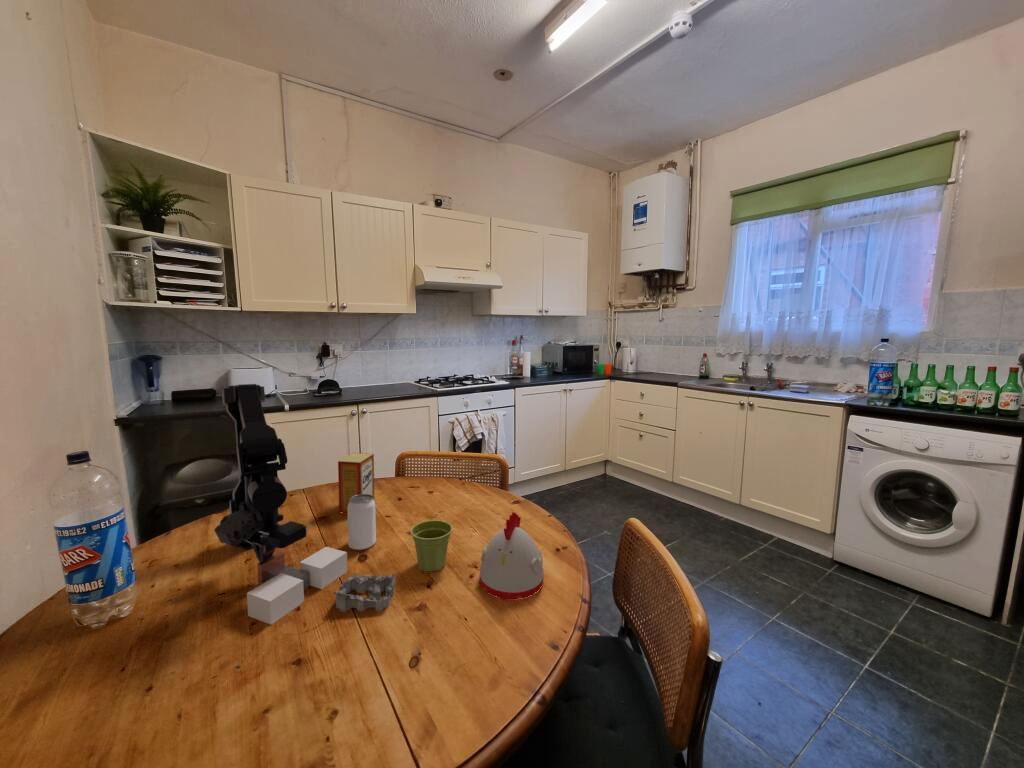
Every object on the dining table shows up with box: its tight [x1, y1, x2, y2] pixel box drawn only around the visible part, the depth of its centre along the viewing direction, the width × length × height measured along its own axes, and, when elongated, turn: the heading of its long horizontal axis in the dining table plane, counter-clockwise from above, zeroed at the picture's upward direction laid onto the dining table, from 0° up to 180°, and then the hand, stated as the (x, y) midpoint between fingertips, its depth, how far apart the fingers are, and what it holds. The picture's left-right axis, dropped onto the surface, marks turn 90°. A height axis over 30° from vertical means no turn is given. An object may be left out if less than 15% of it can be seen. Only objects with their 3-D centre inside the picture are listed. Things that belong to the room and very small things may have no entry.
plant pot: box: [410, 519, 453, 572], centre depth 93 cm, size 9×9×9 cm
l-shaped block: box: [257, 551, 310, 591], centre depth 84 cm, size 9×5×5 cm, turn 68°
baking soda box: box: [337, 452, 375, 513], centre depth 123 cm, size 10×6×16 cm
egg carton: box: [333, 574, 396, 612], centre depth 80 cm, size 11×8×4 cm
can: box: [347, 494, 377, 551], centre depth 101 cm, size 6×6×12 cm
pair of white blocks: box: [246, 546, 348, 625], centre depth 82 cm, size 6×18×4 cm, turn 158°
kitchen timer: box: [479, 511, 545, 600], centre depth 87 cm, size 14×14×15 cm
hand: (264, 565), depth 86 cm, fingers closed
